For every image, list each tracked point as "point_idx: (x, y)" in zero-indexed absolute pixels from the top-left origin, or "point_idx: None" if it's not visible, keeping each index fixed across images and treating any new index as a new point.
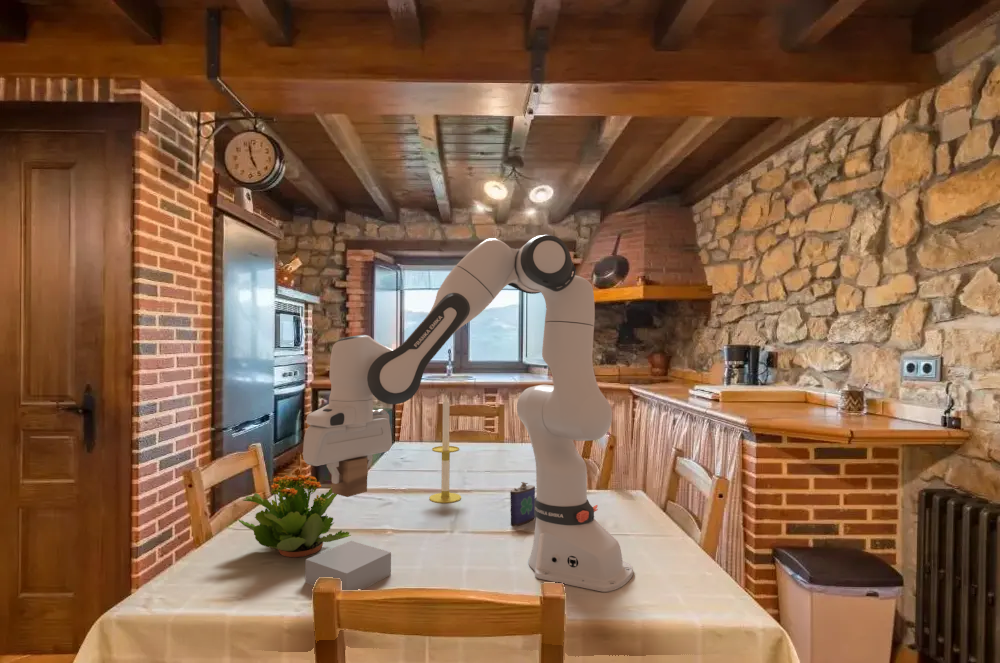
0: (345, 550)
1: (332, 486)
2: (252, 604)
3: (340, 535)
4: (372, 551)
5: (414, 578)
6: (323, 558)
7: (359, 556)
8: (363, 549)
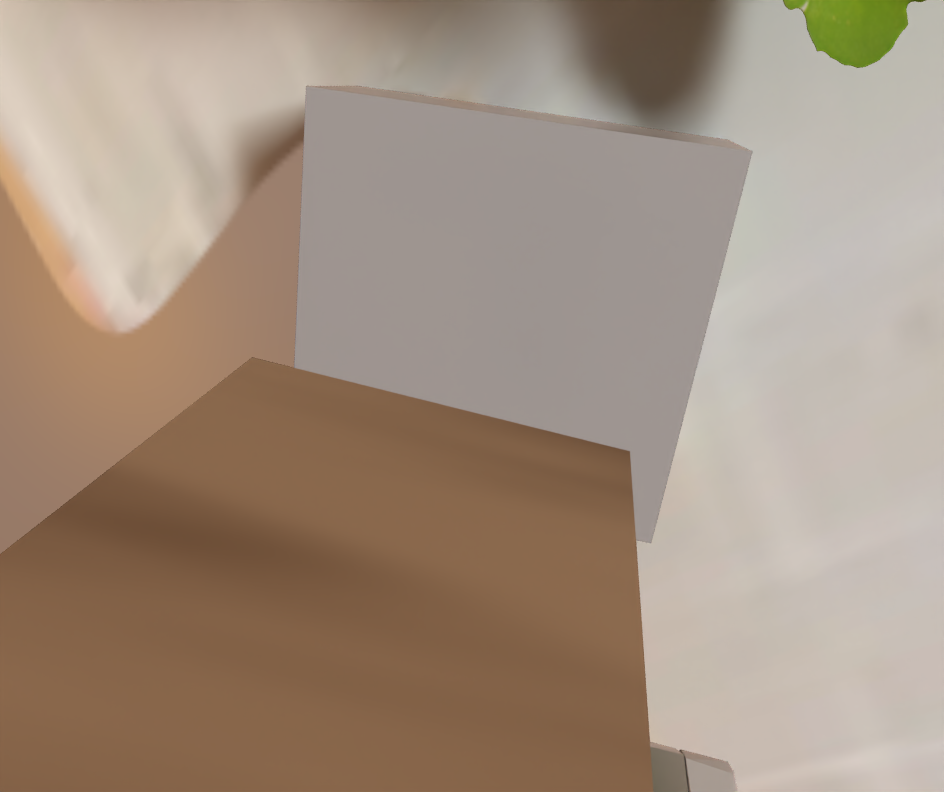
0: (559, 247)
1: (204, 405)
2: (41, 18)
3: (790, 6)
4: (617, 431)
5: (651, 598)
6: (377, 198)
7: (511, 401)
8: (626, 355)
